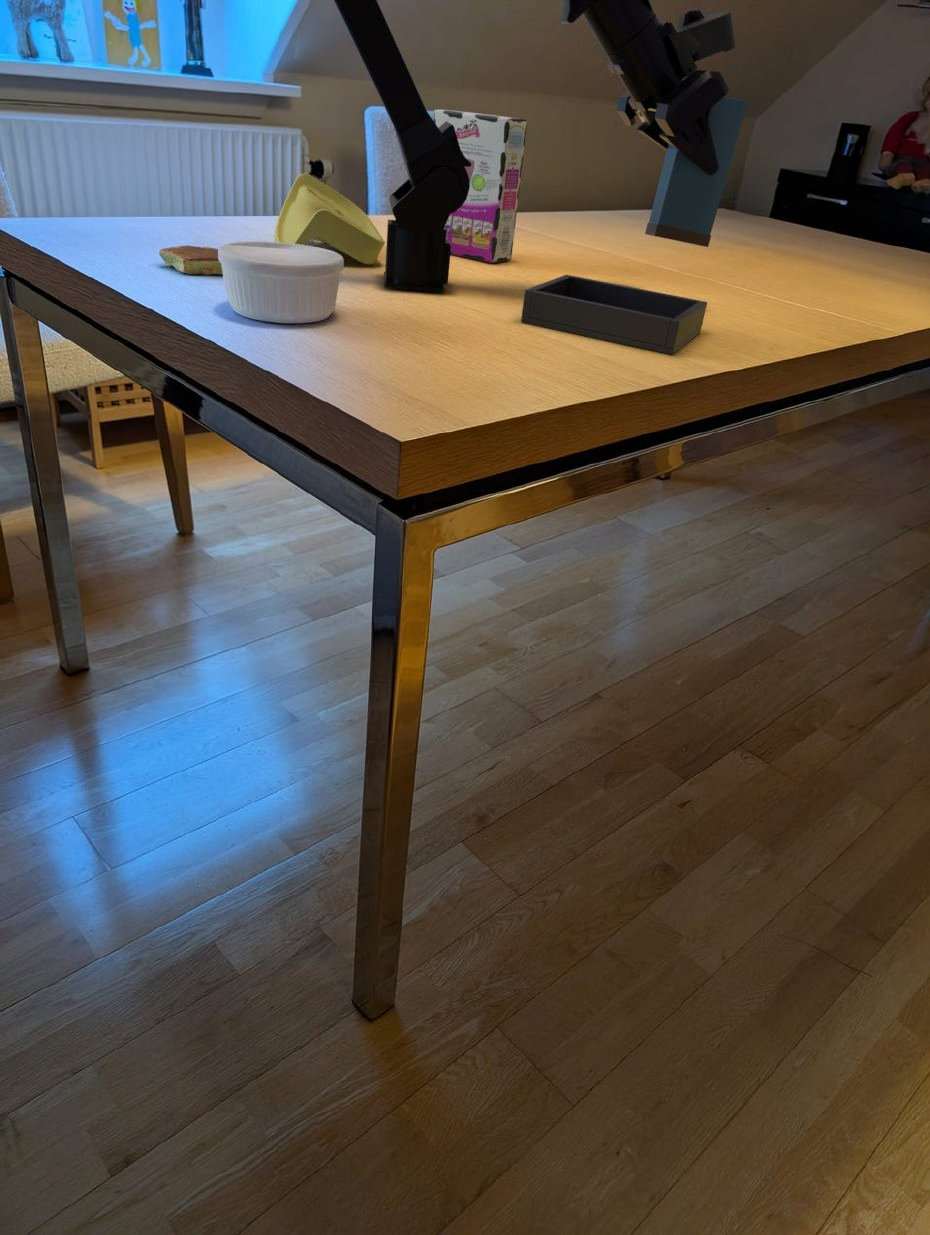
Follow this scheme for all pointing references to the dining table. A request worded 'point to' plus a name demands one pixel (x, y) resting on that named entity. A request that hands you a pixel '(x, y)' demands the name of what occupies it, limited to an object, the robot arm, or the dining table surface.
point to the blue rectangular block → (696, 182)
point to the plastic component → (327, 221)
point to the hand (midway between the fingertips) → (707, 170)
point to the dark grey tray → (614, 313)
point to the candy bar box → (486, 184)
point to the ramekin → (280, 280)
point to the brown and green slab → (192, 259)
